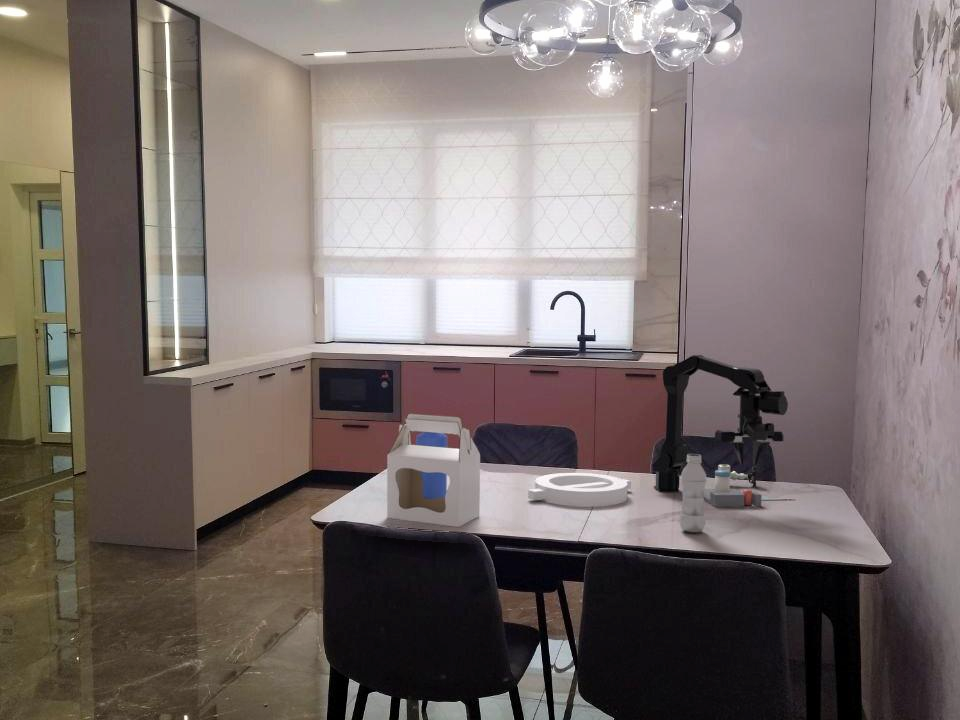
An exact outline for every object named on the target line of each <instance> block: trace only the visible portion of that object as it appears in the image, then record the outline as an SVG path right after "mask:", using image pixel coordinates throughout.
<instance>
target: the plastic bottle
mask: <svg viewBox="0 0 960 720" xmlns="http://www.w3.org/2000/svg"><path fill="white" fill-rule="evenodd" d="M685 463H687V464H686V465H685V467H684V468H683V470H682V471H681V474H680V479H681V480H680V481H681V487H682V503H681V504H682V505H681V513H680V516H679V527H680V528H681V531H684V532H686V533H687V532H688V533H691V534H692V533H695V534H696V533H702V532H703V530H705V526H706V517H705V509H704V506H705V505H704V501H705V500H704V498H703V497H704V489H706V483H707V474H706V471H705V470H704V468H703V466H702V465H701V464H702V455H701V454H699V453H698V454H697V453H687V458H686V461H685Z"/></svg>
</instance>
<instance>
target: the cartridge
mask: <svg viewBox="0 0 960 720" xmlns="http://www.w3.org/2000/svg"><path fill="white" fill-rule="evenodd" d="M730 476H731V470H730V471H727V470H718V469H716V470H714V489H715V492H730V489H731V479H730Z"/></svg>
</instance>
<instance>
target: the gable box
mask: <svg viewBox="0 0 960 720" xmlns="http://www.w3.org/2000/svg"><path fill="white" fill-rule="evenodd" d="M404 420H405V424H399V427H398V434H397V436H396V438H395V439H394V441H393V444H392V446H391V448H390V449H389V451H388V453H387V456H386V457H387V462H386V464H387V465H386V467H387V468H386V470H387V471H386V473H387V474H386V476H387V477H386V478H387V479H386V481H387V483H386V484H387V485H386V489H387V490H386V491H387V493H386V498H387V499H386V509H387V510H386V515H387V516H386V517H387V519H392V520H400V521H409V522H415V523H423V524H432V525H438V526H445V527H446V526H447V527H455V528H459V527H462V526H464V525H465V524H467V523H469V522H471V521H473V520H475V519H477V518H478V517H480V506H481V505H480V503H481V502H480V500H481V499H480V498H481V496H480V494H481V486H480V485H481V454H480V451H479V450H478V447H477V445H476V444H475V442H474V440H473V439H472V437H471V430H470V429H467V428H465V427H464V426H463V421H462V418H461V417H458V416H447V415H433V414H432V415H431V414H422V413H421V414H419V413H409V414H408V415H407V417H406V418H404ZM411 432H421V433H423V432H435V433H443V434H449V435H452V434H453V435H454V436H455V435H458V437H459V446H458V447H459V448H458V447H457V448H456V447H448V446H447V447H437V446H425V445H416V444H412V442H411ZM420 471H422V472H427V473H432V472H440V473H444V474H446V475H447V477H448V478H449V485H448V486H447V492H446V495H445V498H444V497H440V498H433V499H428V498H425V497H424V496H423V493H422V491H423V479H422V476H421V473H420Z"/></svg>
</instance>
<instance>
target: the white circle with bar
mask: <svg viewBox="0 0 960 720" xmlns="http://www.w3.org/2000/svg"><path fill="white" fill-rule="evenodd" d="M631 489H632V481H631V480H628V479H623V478H619V477H616V476H612V475H609V474H608V475H607V474H600V473H599V474H598V473H589V472H560V473H550V474H546V475H545V474H544V475H540V476H539V477H537V478H536V479H535V481H534V488H532V489H531V488H530V489H528V490H527V498H528V499H529V500H532V501H539V500H540V501H542V502H546V503H550V504H555V505H558V506H559V505H561V506H570V507H583V508H585V507H589V508H591V507H607V506H608V507H609V506H614V505H617V504H622V503H625V502H626V501H627V499H628V490H631Z"/></svg>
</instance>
